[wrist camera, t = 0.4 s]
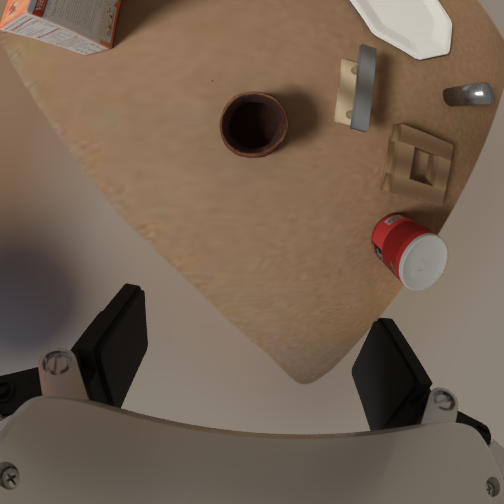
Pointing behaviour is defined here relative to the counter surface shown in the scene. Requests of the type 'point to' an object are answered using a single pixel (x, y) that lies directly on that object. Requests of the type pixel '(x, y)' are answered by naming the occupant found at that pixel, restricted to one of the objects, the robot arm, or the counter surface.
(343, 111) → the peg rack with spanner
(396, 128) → the block with square hole
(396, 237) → the canned food
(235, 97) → the ceramic pot
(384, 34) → the plate
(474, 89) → the pin
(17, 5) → the cracker box
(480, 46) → the counter surface
